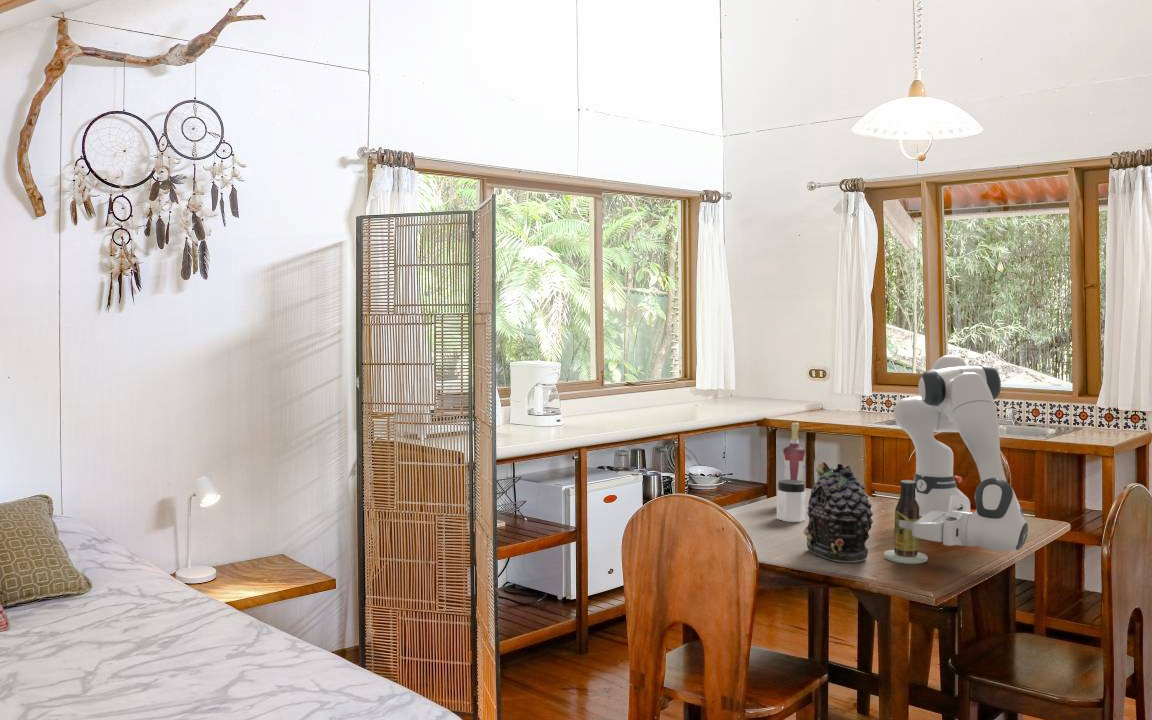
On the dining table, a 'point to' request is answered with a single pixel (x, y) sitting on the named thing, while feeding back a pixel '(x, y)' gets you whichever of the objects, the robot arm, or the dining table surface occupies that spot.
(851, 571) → the dining table surface
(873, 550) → the dining table surface
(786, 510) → the jar
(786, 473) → the liquor
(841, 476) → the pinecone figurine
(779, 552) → the dining table surface
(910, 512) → the sauce bottle
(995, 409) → the robot arm
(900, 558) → the round plate
